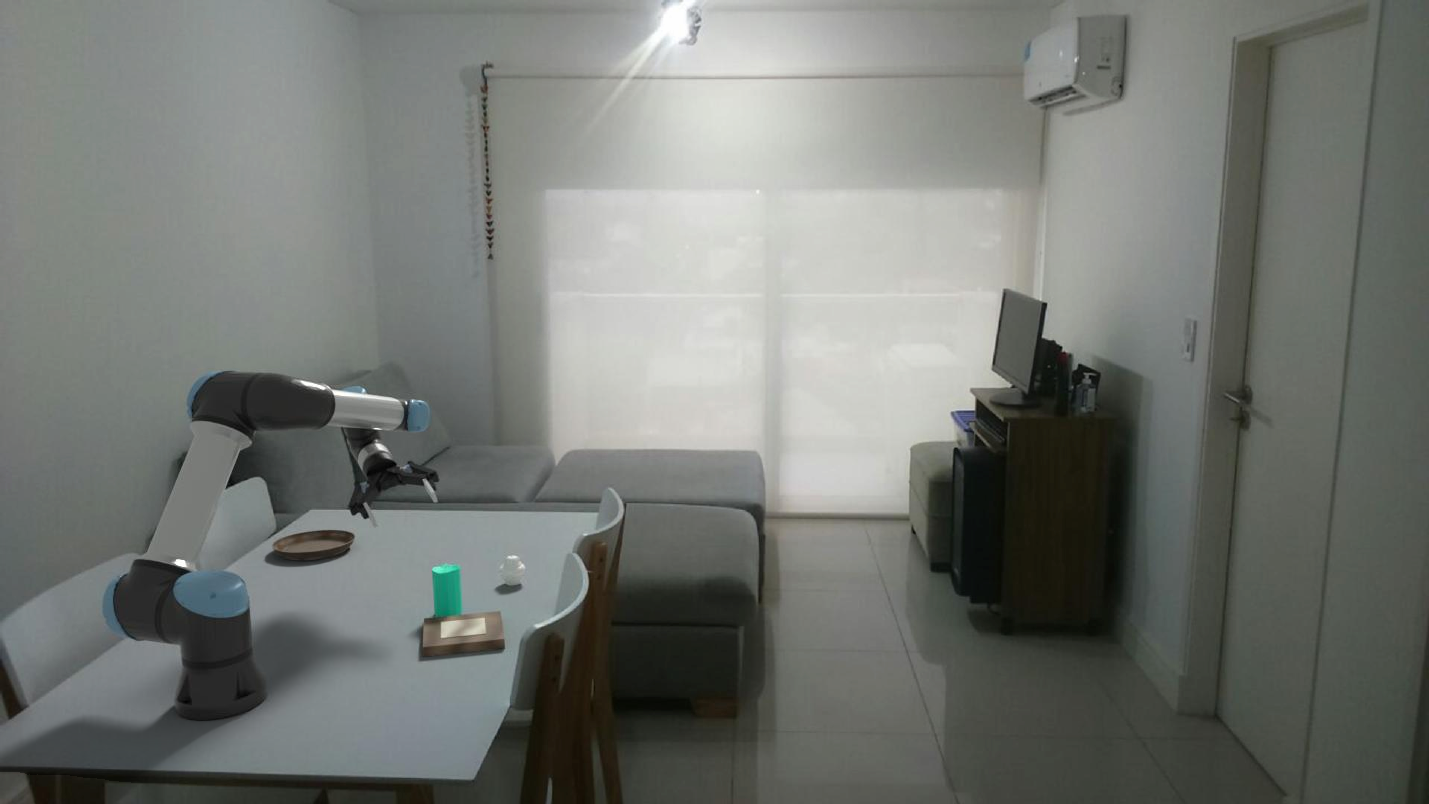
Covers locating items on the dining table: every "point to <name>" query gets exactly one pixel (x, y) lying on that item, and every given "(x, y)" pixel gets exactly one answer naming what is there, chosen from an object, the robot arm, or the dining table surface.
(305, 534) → the plant saucer
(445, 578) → the candle
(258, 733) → the dining table surface
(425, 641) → the plinth
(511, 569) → the white rounded piece
